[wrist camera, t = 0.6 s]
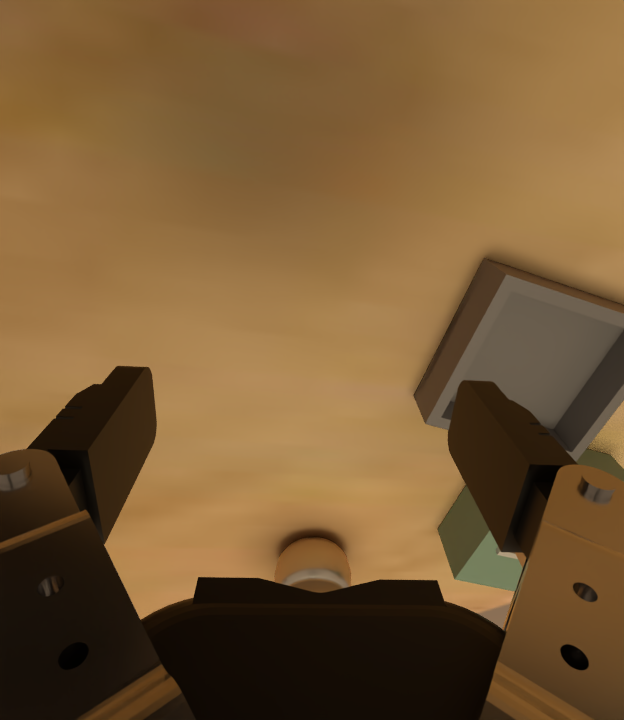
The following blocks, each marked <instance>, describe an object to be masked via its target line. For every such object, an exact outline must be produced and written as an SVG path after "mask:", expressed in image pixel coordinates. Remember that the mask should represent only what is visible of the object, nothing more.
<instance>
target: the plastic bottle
mask: <svg viewBox="0 0 624 720" xmlns="http://www.w3.org/2000/svg"><path fill="white" fill-rule="evenodd" d="M274 577H275V582H276V583H280V584H284V585H288V586H292V587H296V588H300V589H304V590H308V591H312V592H318V593H323V592H329V591H333V590H337V589H342V588H346V587H350V586H351V570H350V567H349V564H348V560H347V557H346V555H345V553H344V552H343V550H342V549H341V548H340V547H338V546H337V545H336V544H335V543H334V542H332V541H330V540H327V539H324V538H319V537H308V538H303V539H300V540H297V541H295V542H293V543H292V544H290V545H289V546H288V547H287V548H286V549H285V550H284V551H283V553H282V554H281V555H280V557H279V559H278V563H277V567H276V571H275V576H274Z"/></svg>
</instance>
